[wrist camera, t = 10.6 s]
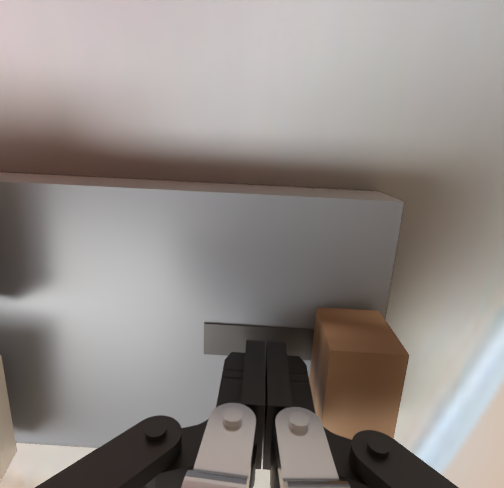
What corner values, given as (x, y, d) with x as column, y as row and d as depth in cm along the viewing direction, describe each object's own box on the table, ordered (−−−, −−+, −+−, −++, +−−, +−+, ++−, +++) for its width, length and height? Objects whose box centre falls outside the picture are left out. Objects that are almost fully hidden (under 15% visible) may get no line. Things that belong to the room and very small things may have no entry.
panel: (-156, 385, 20) (-234, 430, 17) (-226, 160, 16) (-339, 165, 13) (350, 416, 19) (366, 469, 16) (383, 191, 16) (412, 202, 13)
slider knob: (307, 386, 15) (318, 445, 12) (316, 307, 14) (330, 350, 11) (366, 390, 15) (391, 449, 12) (379, 310, 14) (409, 355, 11)
